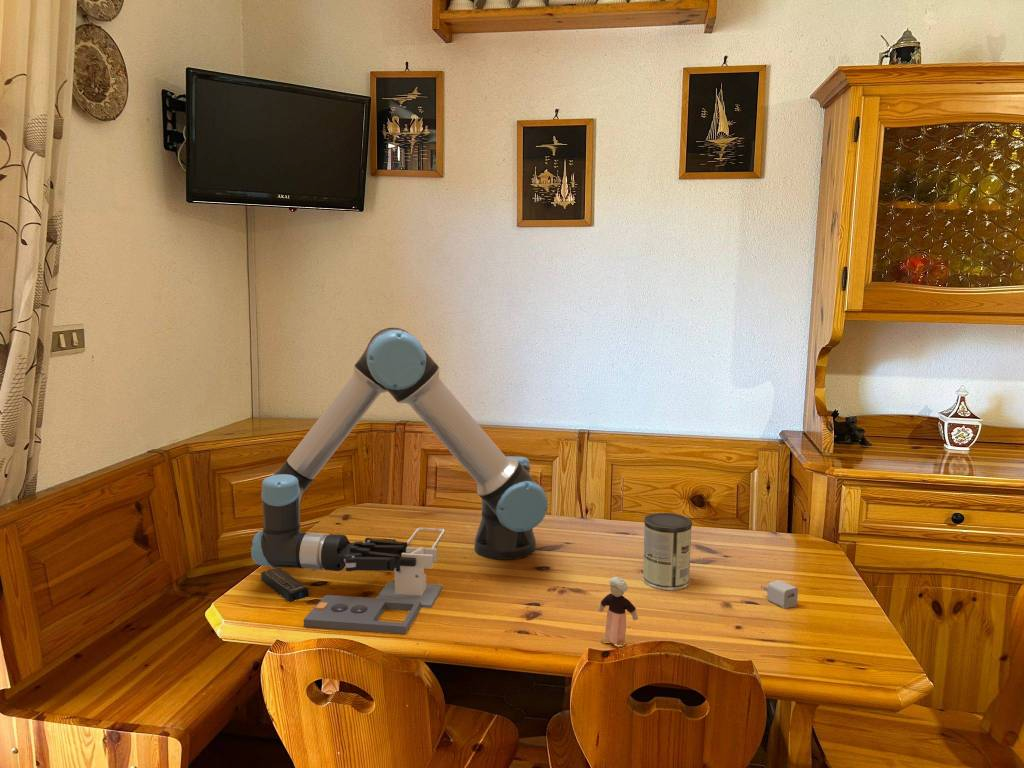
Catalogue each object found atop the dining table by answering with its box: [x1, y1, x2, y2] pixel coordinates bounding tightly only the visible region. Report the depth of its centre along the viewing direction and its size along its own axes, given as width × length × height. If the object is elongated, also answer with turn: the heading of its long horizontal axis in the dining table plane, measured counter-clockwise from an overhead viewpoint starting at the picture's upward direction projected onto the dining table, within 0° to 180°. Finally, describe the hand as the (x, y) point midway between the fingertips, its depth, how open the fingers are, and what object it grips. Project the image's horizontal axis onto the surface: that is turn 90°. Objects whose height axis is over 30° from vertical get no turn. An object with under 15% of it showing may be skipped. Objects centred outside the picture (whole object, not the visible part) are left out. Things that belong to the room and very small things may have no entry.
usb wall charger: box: [760, 579, 799, 609], centre depth 151 cm, size 4×7×4 cm, turn 28°
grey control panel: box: [303, 594, 422, 635], centre depth 142 cm, size 20×11×2 cm, turn 82°
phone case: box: [406, 527, 445, 548], centre depth 184 cm, size 7×1×15 cm
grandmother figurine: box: [597, 576, 639, 648], centre depth 132 cm, size 8×4×13 cm, turn 69°
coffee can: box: [642, 512, 693, 591], centre depth 160 cm, size 10×10×14 cm
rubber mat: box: [376, 580, 444, 609], centre depth 152 cm, size 12×10×1 cm
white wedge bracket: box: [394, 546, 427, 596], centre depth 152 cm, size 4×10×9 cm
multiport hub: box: [260, 567, 310, 603], centre depth 155 cm, size 4×14×2 cm, turn 42°
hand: (434, 558), depth 150 cm, fingers open, 3 cm apart
